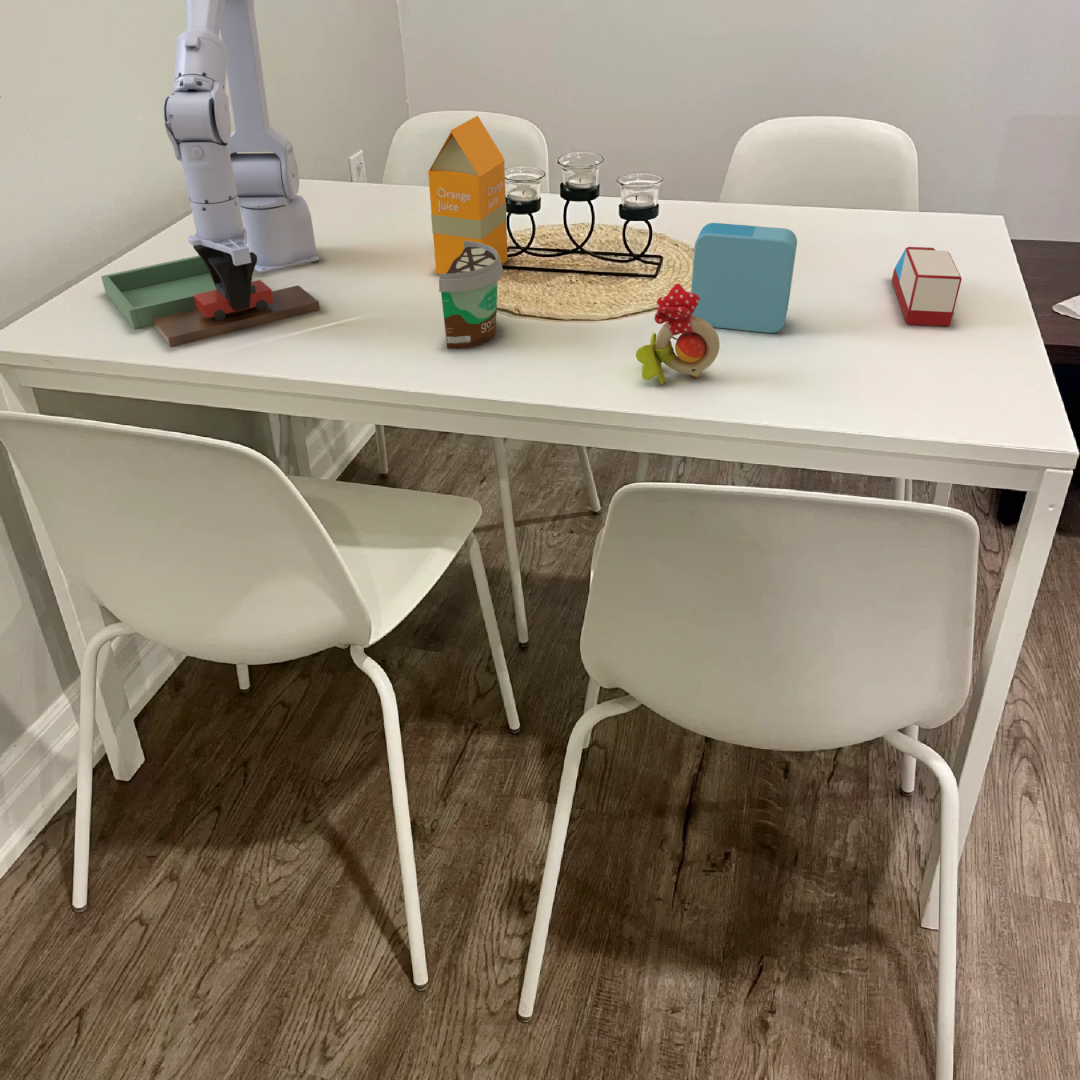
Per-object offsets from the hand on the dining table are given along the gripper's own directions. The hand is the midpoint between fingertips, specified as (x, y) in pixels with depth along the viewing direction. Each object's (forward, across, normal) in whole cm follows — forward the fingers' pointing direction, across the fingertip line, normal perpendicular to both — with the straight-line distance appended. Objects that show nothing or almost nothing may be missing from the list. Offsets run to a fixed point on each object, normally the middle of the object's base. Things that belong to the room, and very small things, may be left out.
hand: (235, 302), depth 130 cm
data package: (+3, +38, +53) cm, 65 cm away
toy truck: (+3, +47, +77) cm, 90 cm away
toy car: (+1, 0, 0) cm, 1 cm away
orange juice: (+3, +1, +35) cm, 35 cm away
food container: (+3, +22, +24) cm, 33 cm away
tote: (+3, -12, -4) cm, 13 cm away
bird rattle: (+3, +45, +37) cm, 58 cm away
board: (+3, 0, 0) cm, 3 cm away
